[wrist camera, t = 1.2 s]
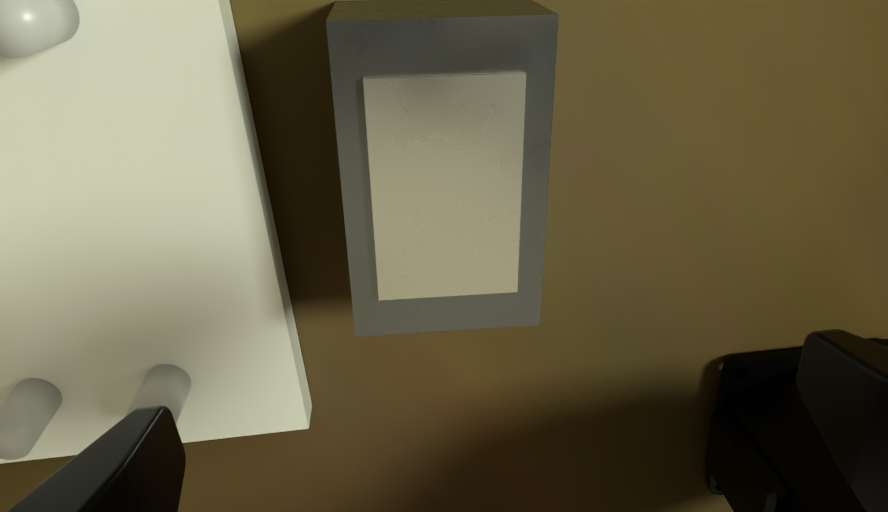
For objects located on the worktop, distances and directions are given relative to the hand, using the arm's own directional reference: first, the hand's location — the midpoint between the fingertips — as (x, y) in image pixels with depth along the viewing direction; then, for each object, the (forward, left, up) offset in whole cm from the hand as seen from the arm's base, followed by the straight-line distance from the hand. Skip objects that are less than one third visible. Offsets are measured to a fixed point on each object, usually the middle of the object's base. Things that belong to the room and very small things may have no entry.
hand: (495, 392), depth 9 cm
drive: (0, 0, -12) cm, 12 cm away
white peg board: (+11, +1, -11) cm, 16 cm away
